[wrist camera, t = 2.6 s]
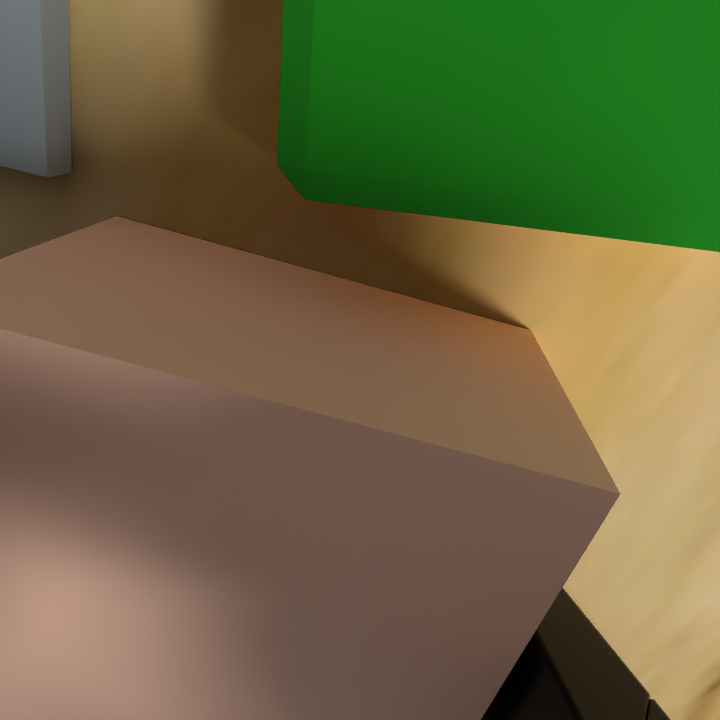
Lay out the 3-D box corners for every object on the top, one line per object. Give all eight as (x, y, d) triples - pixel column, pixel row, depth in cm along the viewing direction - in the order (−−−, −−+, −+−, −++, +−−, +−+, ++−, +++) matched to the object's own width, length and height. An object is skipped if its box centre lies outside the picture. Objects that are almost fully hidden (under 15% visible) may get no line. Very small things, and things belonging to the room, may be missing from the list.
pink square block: (530, 330, 8) (620, 493, 5) (408, 608, 11) (408, 837, 8) (116, 215, 8) (-111, 298, 5) (101, 529, 11) (-45, 728, 8)
